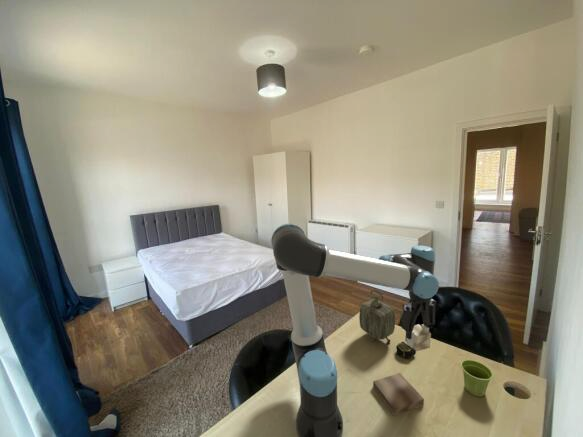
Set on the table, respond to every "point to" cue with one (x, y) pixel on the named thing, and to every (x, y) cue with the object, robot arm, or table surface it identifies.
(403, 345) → the tape measure
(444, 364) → the table surface
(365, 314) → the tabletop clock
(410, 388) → the stand
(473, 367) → the plant pot
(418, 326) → the cube
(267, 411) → the table surface
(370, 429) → the table surface
